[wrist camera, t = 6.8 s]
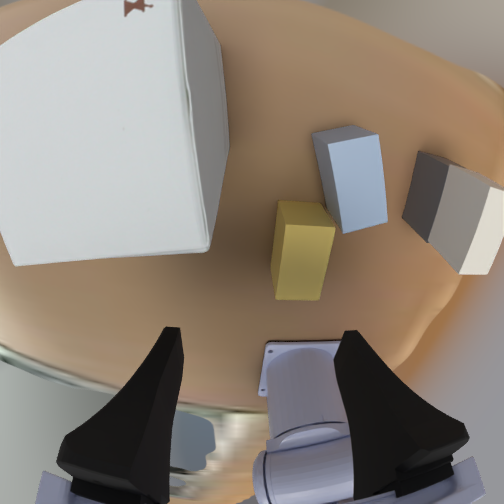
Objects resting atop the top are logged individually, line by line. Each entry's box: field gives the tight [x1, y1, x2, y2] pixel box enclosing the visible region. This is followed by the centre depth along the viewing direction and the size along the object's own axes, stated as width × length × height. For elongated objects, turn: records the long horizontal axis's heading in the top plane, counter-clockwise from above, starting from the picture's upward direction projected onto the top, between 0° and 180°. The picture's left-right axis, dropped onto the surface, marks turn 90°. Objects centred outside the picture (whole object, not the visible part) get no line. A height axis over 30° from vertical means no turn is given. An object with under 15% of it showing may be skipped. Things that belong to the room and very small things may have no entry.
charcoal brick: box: [402, 151, 466, 243], centre depth 18 cm, size 6×3×4 cm, turn 176°
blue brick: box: [311, 125, 388, 234], centre depth 17 cm, size 6×3×4 cm, turn 16°
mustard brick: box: [271, 200, 336, 300], centre depth 20 cm, size 6×3×4 cm, turn 176°
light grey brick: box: [428, 164, 504, 274], centre depth 14 cm, size 6×3×4 cm, turn 176°
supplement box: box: [0, 0, 230, 266], centre depth 11 cm, size 7×7×13 cm
